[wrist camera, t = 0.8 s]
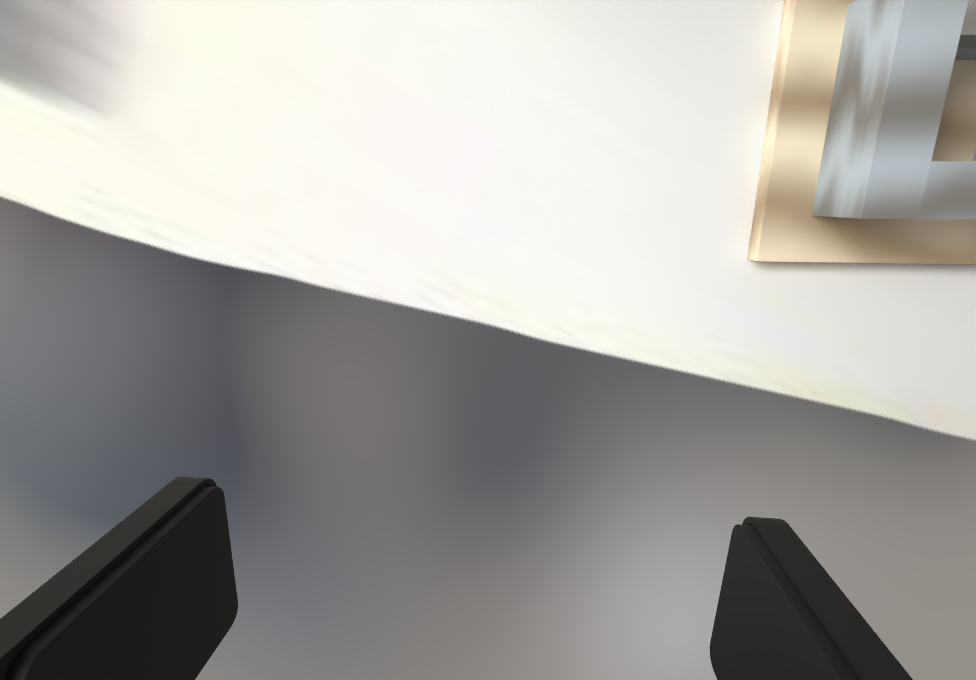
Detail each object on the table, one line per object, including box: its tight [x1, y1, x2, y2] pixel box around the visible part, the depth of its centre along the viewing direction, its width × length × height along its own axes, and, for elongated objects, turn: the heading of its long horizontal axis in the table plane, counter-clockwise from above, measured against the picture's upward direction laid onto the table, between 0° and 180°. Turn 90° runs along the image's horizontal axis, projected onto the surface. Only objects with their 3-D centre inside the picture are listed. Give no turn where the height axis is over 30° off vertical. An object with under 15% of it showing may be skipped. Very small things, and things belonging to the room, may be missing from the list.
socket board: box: [748, 0, 976, 264], centre depth 29 cm, size 18×18×6 cm
